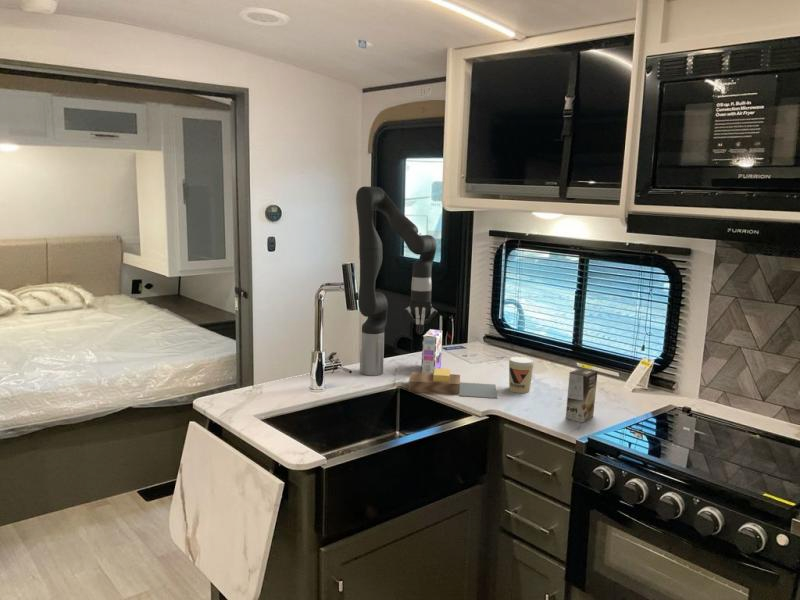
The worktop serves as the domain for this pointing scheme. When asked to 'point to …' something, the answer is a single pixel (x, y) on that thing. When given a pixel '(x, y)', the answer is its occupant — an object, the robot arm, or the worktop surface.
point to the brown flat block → (433, 383)
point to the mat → (478, 390)
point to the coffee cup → (520, 374)
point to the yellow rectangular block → (441, 375)
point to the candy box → (431, 351)
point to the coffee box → (581, 394)
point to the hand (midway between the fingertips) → (419, 333)
